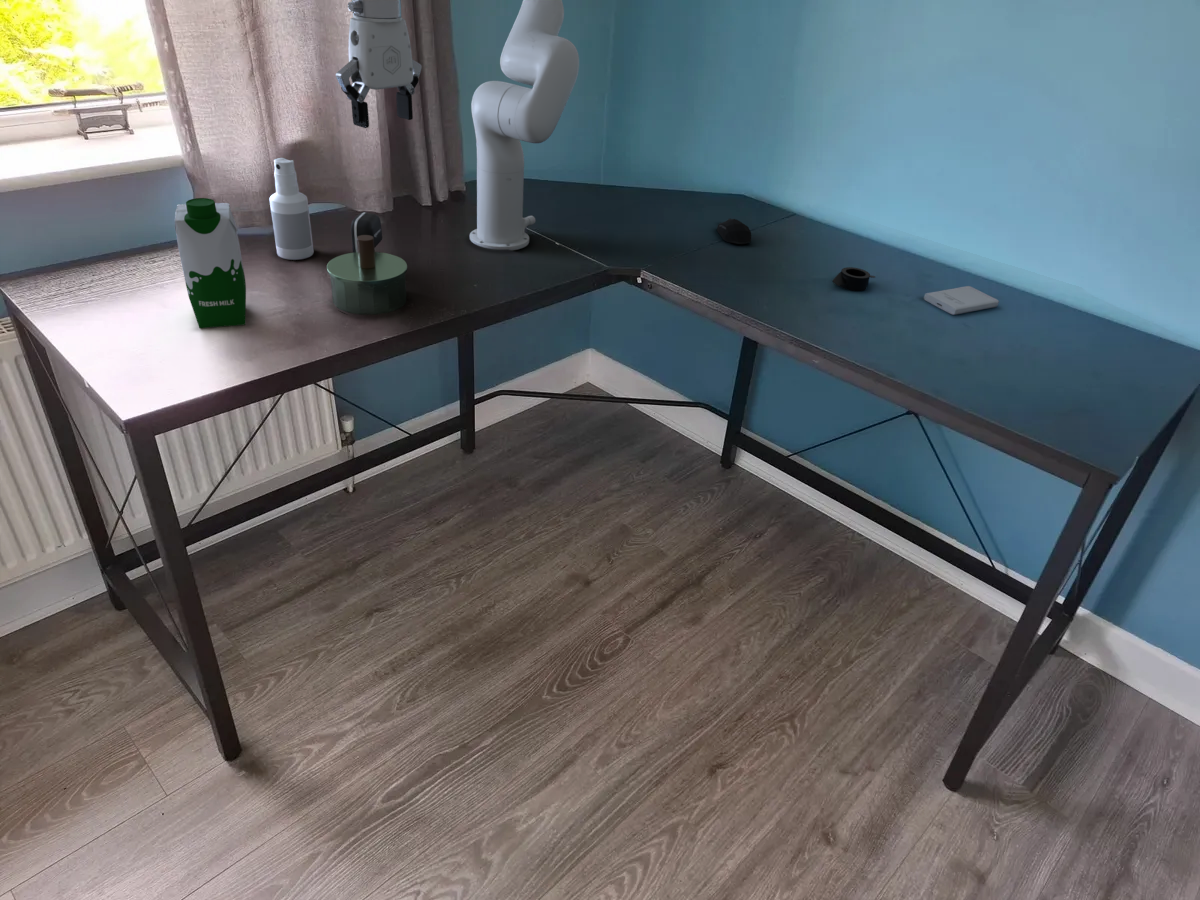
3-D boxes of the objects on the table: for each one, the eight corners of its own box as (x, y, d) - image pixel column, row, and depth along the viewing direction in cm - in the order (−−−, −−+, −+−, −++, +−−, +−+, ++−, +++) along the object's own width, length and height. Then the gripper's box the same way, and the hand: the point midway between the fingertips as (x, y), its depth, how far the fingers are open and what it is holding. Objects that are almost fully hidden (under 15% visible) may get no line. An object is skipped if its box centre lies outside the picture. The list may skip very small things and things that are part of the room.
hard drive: (996, 308, 169) (953, 315, 164) (965, 292, 175) (922, 299, 170) (999, 300, 168) (956, 308, 163) (968, 285, 174) (925, 291, 169)
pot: (373, 282, 155) (370, 250, 151) (420, 302, 149) (419, 269, 146) (318, 302, 146) (314, 268, 143) (367, 324, 141) (364, 289, 137)
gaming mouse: (732, 224, 200) (735, 207, 198) (754, 246, 188) (758, 229, 186) (707, 224, 199) (710, 207, 196) (728, 246, 187) (731, 229, 185)
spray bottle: (269, 255, 162) (255, 160, 152) (293, 245, 167) (281, 153, 157) (298, 263, 160) (286, 167, 150) (321, 252, 165) (310, 159, 155)
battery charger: (375, 283, 155) (370, 223, 148) (354, 281, 155) (349, 221, 148) (386, 270, 160) (382, 211, 154) (366, 267, 161) (362, 209, 154)
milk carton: (193, 331, 134) (167, 208, 123) (194, 308, 141) (170, 189, 129) (251, 327, 136) (231, 206, 125) (250, 304, 143) (231, 187, 132)
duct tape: (825, 276, 176) (828, 263, 175) (872, 281, 176) (875, 268, 175) (831, 290, 170) (834, 277, 168) (880, 295, 170) (884, 282, 168)
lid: (371, 252, 152) (368, 218, 149) (423, 273, 146) (422, 238, 143) (310, 271, 143) (306, 236, 140) (364, 294, 137) (361, 258, 133)
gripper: (349, 15, 124) (358, 134, 134) (433, 9, 136) (436, 119, 146) (316, 7, 128) (327, 124, 137) (401, 3, 140) (406, 111, 149)
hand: (383, 122), depth 141 cm, fingers open, 9 cm apart
